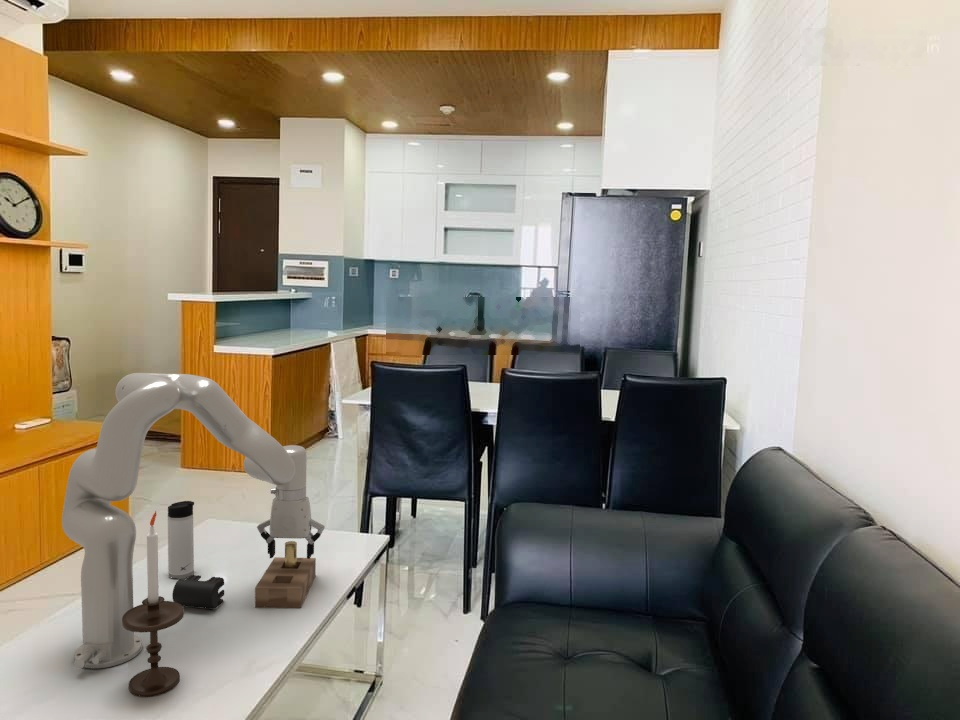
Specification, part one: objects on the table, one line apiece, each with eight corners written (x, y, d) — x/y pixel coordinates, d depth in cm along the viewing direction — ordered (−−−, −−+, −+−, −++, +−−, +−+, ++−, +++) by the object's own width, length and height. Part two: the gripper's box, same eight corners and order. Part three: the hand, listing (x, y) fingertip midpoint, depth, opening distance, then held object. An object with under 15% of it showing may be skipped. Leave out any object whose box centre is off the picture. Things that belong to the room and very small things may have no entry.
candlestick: (193, 668, 141) (191, 502, 138) (171, 700, 130) (168, 521, 127) (139, 668, 141) (136, 501, 137) (112, 699, 130) (108, 519, 126)
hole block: (300, 608, 169) (300, 588, 168) (255, 607, 168) (255, 587, 168) (315, 575, 188) (315, 557, 187) (274, 575, 187) (274, 557, 187)
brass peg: (295, 585, 181) (295, 545, 180) (283, 585, 181) (283, 545, 180) (297, 581, 184) (297, 541, 183) (286, 580, 184) (286, 541, 183)
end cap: (172, 611, 165) (171, 584, 165) (188, 598, 172) (187, 572, 172) (211, 615, 164) (211, 587, 164) (226, 601, 171) (225, 575, 171)
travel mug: (188, 579, 182) (188, 506, 180) (164, 578, 183) (163, 505, 180) (199, 570, 189) (198, 499, 187) (175, 569, 189) (174, 498, 187)
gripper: (253, 497, 176) (253, 561, 178) (322, 498, 177) (321, 562, 179) (261, 488, 183) (261, 550, 185) (327, 489, 184) (326, 551, 186)
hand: (290, 556), depth 182 cm, fingers open, 9 cm apart
